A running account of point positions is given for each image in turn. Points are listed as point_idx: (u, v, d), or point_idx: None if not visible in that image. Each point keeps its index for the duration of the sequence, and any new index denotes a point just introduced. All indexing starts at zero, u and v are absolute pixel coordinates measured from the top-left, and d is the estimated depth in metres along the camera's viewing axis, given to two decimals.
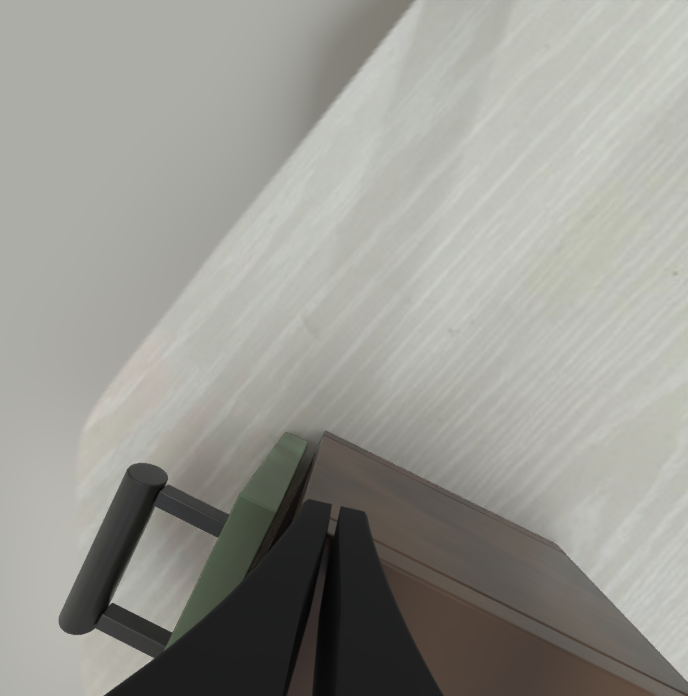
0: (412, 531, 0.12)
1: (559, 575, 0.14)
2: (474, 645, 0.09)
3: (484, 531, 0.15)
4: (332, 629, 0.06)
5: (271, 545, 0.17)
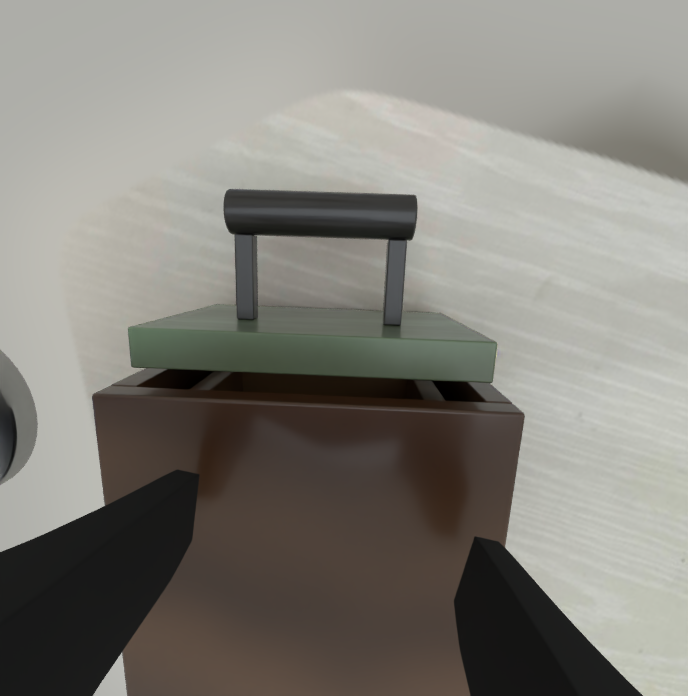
0: None
1: None
2: None
3: None
4: (530, 676, 0.06)
5: None
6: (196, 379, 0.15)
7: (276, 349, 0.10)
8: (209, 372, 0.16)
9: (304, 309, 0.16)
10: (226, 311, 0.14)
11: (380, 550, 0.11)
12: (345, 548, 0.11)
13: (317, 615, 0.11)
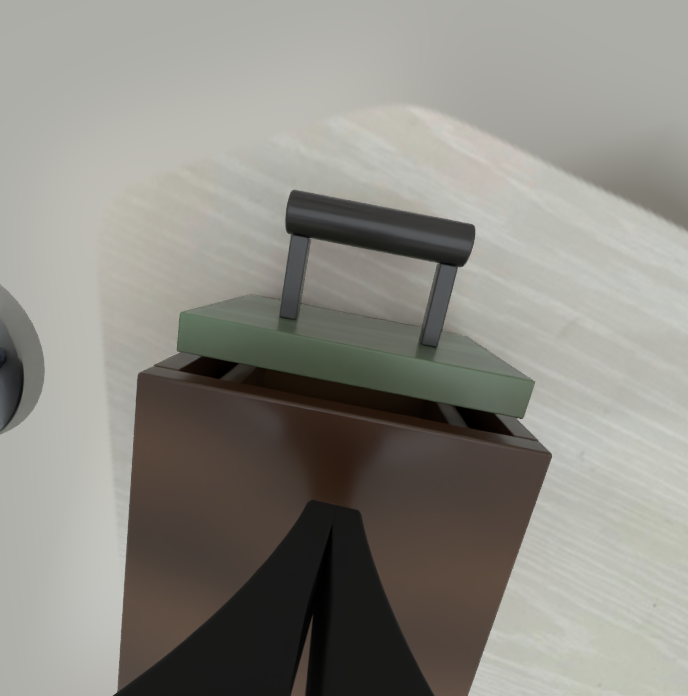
0: None
1: None
2: (467, 609, 0.11)
3: None
4: (324, 627, 0.06)
5: None
6: (224, 367, 0.15)
7: (321, 355, 0.11)
8: None
9: (337, 313, 0.16)
10: (264, 305, 0.15)
11: (391, 562, 0.11)
12: None
13: None
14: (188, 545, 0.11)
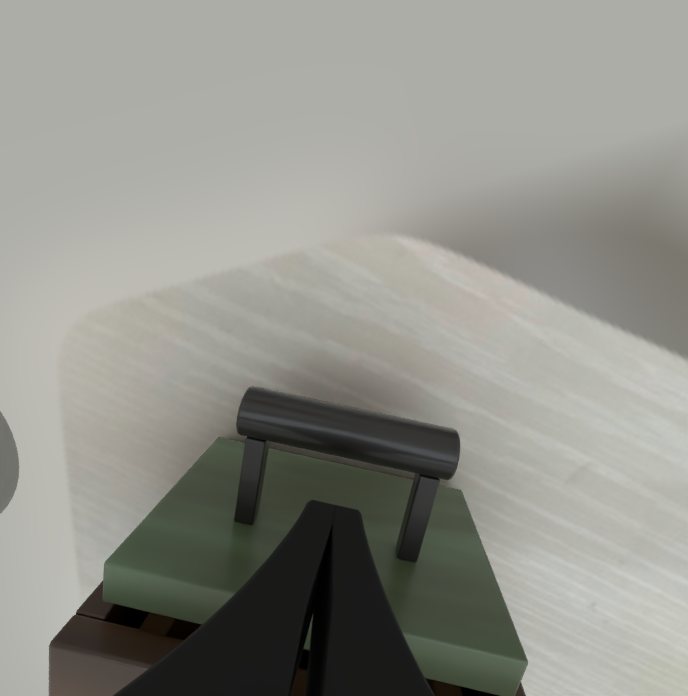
0: None
1: None
2: None
3: None
4: (324, 627, 0.06)
5: None
6: None
7: None
8: None
9: (312, 467, 0.15)
10: (226, 477, 0.13)
11: None
12: None
13: None
14: None
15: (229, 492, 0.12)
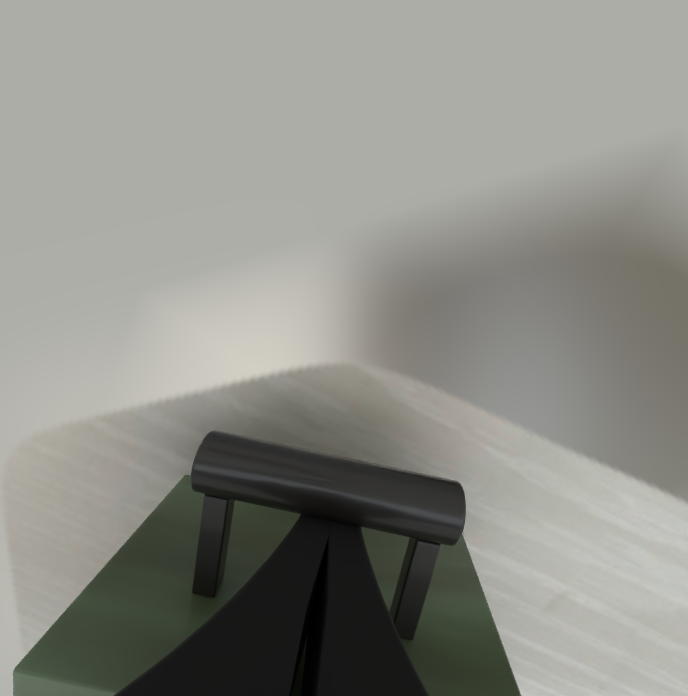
0: None
1: None
2: None
3: None
4: (319, 626, 0.06)
5: None
6: None
7: None
8: None
9: None
10: (188, 529, 0.11)
11: None
12: None
13: None
14: None
15: (190, 550, 0.10)
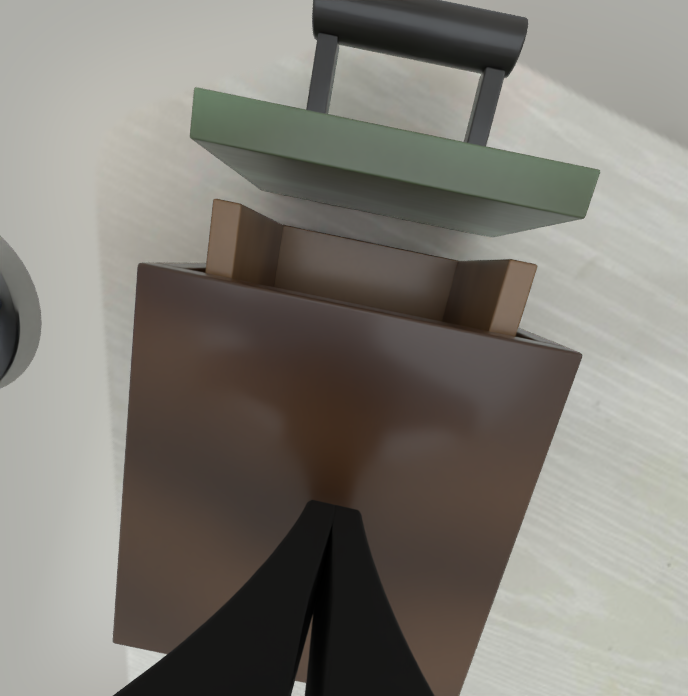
0: None
1: None
2: (486, 529, 0.11)
3: None
4: (324, 627, 0.06)
5: None
6: None
7: (356, 139, 0.09)
8: None
9: None
10: None
11: (406, 477, 0.10)
12: (370, 469, 0.10)
13: None
14: (190, 458, 0.10)
15: None
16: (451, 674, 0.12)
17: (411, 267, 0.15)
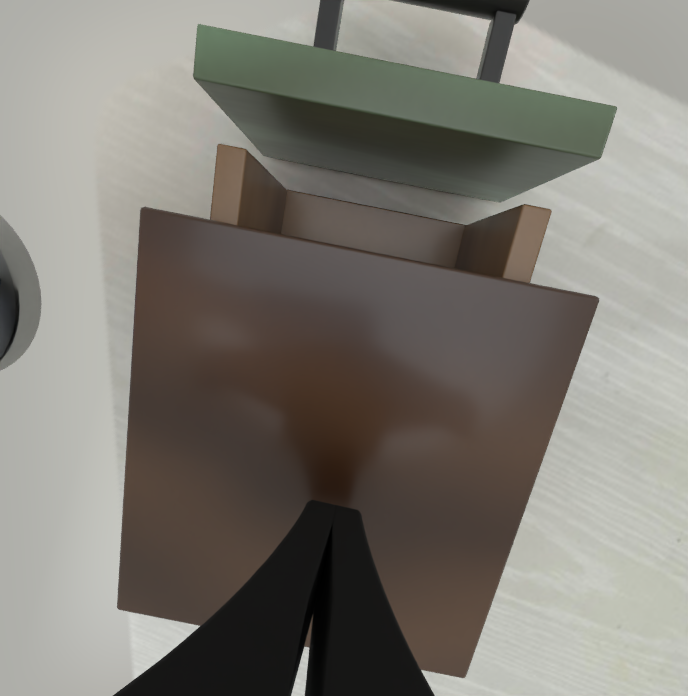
0: None
1: None
2: (499, 485, 0.10)
3: None
4: (324, 627, 0.06)
5: None
6: None
7: (365, 77, 0.09)
8: None
9: None
10: None
11: (418, 430, 0.10)
12: (381, 422, 0.10)
13: (337, 494, 0.11)
14: (195, 413, 0.10)
15: None
16: (463, 637, 0.11)
17: (417, 232, 0.15)
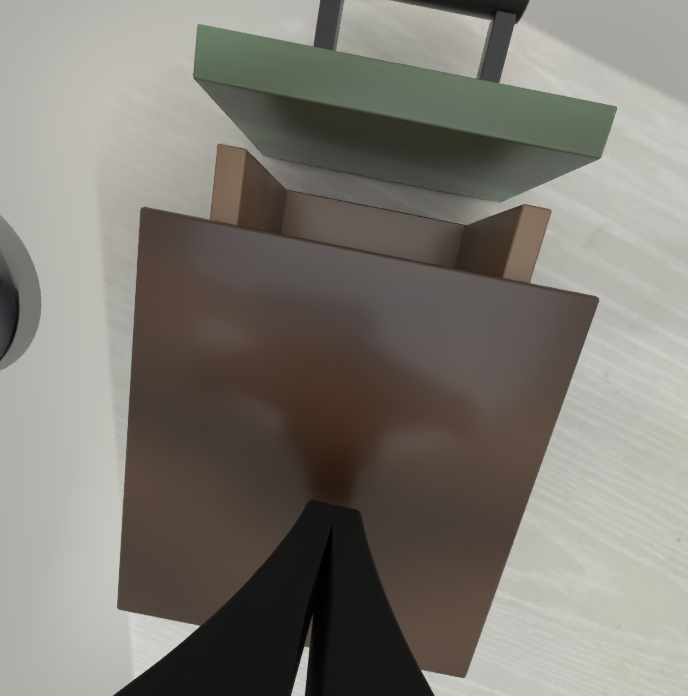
0: None
1: None
2: (499, 485, 0.10)
3: None
4: (324, 627, 0.06)
5: None
6: None
7: (365, 77, 0.09)
8: None
9: None
10: None
11: (418, 430, 0.10)
12: (381, 422, 0.10)
13: (337, 494, 0.11)
14: (195, 413, 0.10)
15: None
16: (463, 637, 0.11)
17: (417, 232, 0.15)
